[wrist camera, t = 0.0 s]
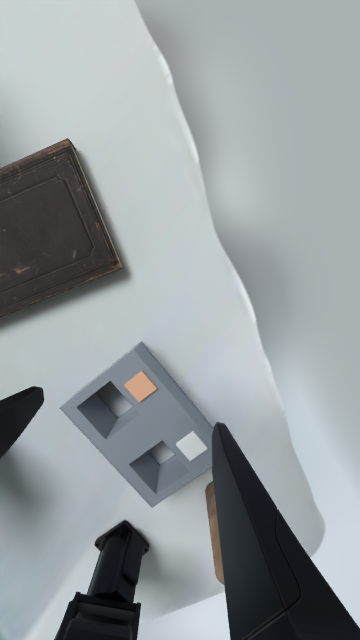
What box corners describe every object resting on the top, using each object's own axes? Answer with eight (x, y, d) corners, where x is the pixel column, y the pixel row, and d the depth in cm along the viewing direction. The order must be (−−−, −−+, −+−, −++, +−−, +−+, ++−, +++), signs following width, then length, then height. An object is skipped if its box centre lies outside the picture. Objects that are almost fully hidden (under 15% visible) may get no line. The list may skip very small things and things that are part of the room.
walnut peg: (215, 507, 27) (229, 592, 19) (200, 489, 27) (208, 569, 19) (235, 493, 27) (258, 574, 19) (220, 475, 27) (237, 550, 19)
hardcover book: (126, 270, 24) (120, 267, 21) (-20, 329, 25) (-40, 332, 22) (77, 150, 22) (65, 133, 20) (-77, 219, 23) (-105, 210, 21)
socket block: (156, 476, 27) (151, 510, 22) (78, 390, 25) (57, 409, 21) (218, 433, 26) (225, 460, 21) (141, 341, 24) (132, 350, 20)
